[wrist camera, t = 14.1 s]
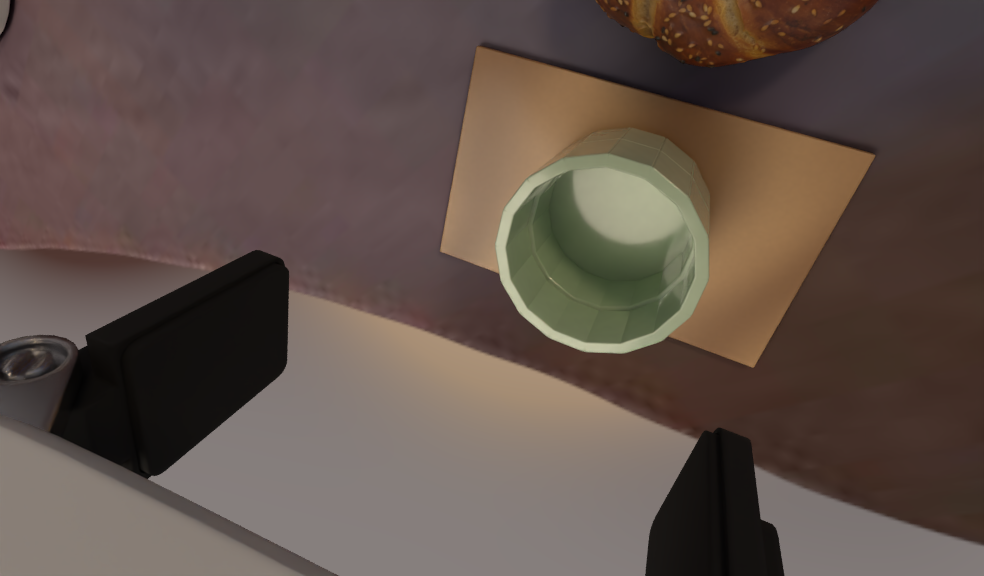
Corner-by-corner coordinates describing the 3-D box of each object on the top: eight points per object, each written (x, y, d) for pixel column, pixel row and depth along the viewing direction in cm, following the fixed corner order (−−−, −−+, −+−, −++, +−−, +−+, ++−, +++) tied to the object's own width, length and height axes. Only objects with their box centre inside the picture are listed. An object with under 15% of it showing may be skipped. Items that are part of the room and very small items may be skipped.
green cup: (524, 257, 26) (478, 311, 21) (565, 105, 23) (521, 126, 18) (671, 310, 25) (660, 382, 20) (740, 156, 21) (748, 195, 16)
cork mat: (442, 249, 28) (439, 251, 28) (479, 45, 23) (476, 45, 23) (753, 363, 25) (753, 368, 24) (873, 153, 20) (876, 155, 19)
